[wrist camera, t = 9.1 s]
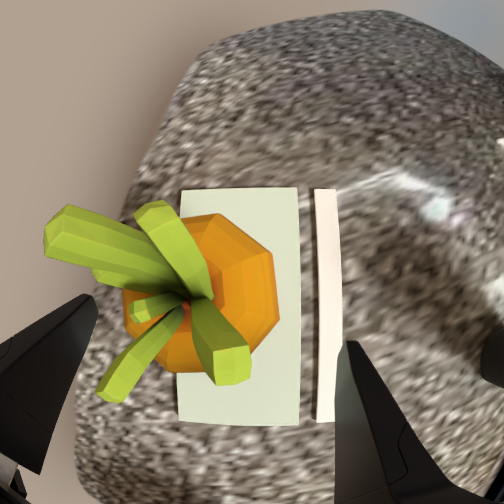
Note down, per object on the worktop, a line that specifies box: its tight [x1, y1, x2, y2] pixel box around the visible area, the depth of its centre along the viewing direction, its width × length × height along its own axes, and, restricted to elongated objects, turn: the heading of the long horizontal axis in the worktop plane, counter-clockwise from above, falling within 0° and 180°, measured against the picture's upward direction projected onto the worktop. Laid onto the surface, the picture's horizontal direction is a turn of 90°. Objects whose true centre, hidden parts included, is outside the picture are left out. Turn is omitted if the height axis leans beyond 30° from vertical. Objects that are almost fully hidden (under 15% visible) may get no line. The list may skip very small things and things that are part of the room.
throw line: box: [314, 189, 342, 423], centre depth 18 cm, size 16×2×1 cm, turn 0°
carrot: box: [44, 200, 280, 403], centre depth 11 cm, size 5×5×15 cm
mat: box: [177, 188, 301, 426], centre depth 18 cm, size 16×8×1 cm, turn 0°
